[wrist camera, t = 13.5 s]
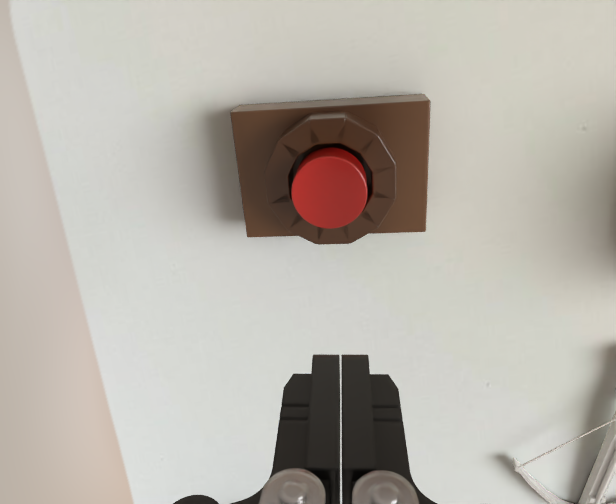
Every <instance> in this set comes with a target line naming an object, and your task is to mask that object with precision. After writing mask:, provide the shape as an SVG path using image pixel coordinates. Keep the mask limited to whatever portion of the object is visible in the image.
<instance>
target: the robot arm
mask: <svg viewBox="0 0 616 504" xmlns="http://www.w3.org/2000/svg"><path fill="white" fill-rule="evenodd" d="M173 504H219V503H218V502H217V501H215V500H214V499H212V498H210V497H208V496H204V495H192V496H187V497H185V498H182V499H180V500H178V501H176V502H175V503H173ZM231 504H340V364H339V355H313V360H312V373H311V374H293V375H292V377H291V378H290V380H289V381H288V383H287V384H286V386H285V387H284V391H283V398H282V407H281V412H280V420H279V427H278V434H277V441H276V448H275V455H274V462H273V469H272V473H271V476H270V478H269V480H268V481H267V482H266V484H265V485H264V487H263V488H262V489H261V490H260V491H259V492H257V493H256V494H254V495H253V496H251V497H249V498H247V499H244V500H242V501H238V502H235V503H231ZM342 504H437V503H435V502H433V501H431V500H430V499H428V498H427V497H426V496H424V495H423V494H422V493H421V492H420V491H419V489H418V488H417V487H416V485H415V484H414V482H413V480H412V477H411V474H410V469H409V462H408V455H407V447H406V440H405V433H404V426H403V422H402V412H401V407H400V398H399V391H398V388H397V386H396V385H395V384H394V382H393V381H392V379H391V378H390V376H389V375H382V374H370V372H369V359H368V355H342Z"/></svg>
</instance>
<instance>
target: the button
mask: <svg viewBox="0 0 616 504" xmlns="http://www.w3.org/2000/svg"><path fill="white" fill-rule="evenodd" d="M367 193H368V191H367V179H366V174H365V171H364V168H363V166H362V164H361V163H360V162H359V160H358V159H357V158H356V157H355V156H353V155H352V154H351V153H349V152H347V151H345V150H343V149H339V148H322V149H319V150H316V151H314V152H312V153H310V154H309V155H308V156H306V157H305V158H304V159H303V161H302V162H301V163H300V165H299V167H298V169H297V171H296V174H295V177H294V180H293V183H292V189H291V195H292V201H293V204H294V206H295V209H296V210H297V212H298V213H299V214H300V216H301V217H302V218H303V219H304V220H306V221H307V222H309V223H310V224H312V225H315V226H317V227H321V228H328V229H332V228H339V227H342V226H345V225H347V224H349V223H351V222H352V221H354V220H355V219H356V218H357V217H358V216H359V215H360V214H361V212H362V211H363V209H364V207H365V204H366V201H367Z"/></svg>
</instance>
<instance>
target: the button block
mask: <svg viewBox="0 0 616 504" xmlns="http://www.w3.org/2000/svg"><path fill="white" fill-rule="evenodd" d="M230 114H231V121H232V128H233V136H234V143H235V151H236V158H237V165H238V173H239V180H240V187H241V195H242V202H243V210H244V217H245V224H246V232H247V237H271V236H300V237H302V238H304V239H306V240H308V241H311V242H313V243H315V244H349V243H352V242H354V241H356V240H358V239H359V238H361V237H363V236H365V235H367V234H368V233H399V232H425V231H426V210H427V183H428V156H429V129H430V100H429V99H428V98H427V97H426V95H425V94H415V95H399V96H382V97H365V98H348V99H332V100H315V101H298V102H282V103H265V104H248V105H239V106H238V107H237V108H235V109H234V110H233V111H232V112H231V113H230ZM322 148H339V149H343V150H345V151H347V152H349V153H351V154H352V155H353V156H355V157H356V158H357V159H358V160H359V162H360V163H361V164H362V166H363V168H364V171H365V174H366V179H367V191H368V193H367V201H366V204H365V207H364V209H363V211H362V212H361V214H360V215H359V216H358V217H357V218H356V219H355V220H354V221H352V222H351V223H349V224H347V225H345V226H342V227H339V228H332V229H328V228H321V227H317V226H315V225H312V224H310V223H309V222H307V221H306V220H304V219H303V218H302V217H301V216H300V214H299V213H298V212H297V210H296V209H295V206H294V204H293V201H292V195H291V189H292V183H293V180H294V177H295V174H296V171H297V169H298V167H299V165H300V163H301V162H302V161H303V159H304V158H305V157H306V156H308V155H309V154H310V153H312V152H314V151H316V150H319V149H322Z"/></svg>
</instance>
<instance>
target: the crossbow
mask: <svg viewBox="0 0 616 504" xmlns="http://www.w3.org/2000/svg"><path fill="white" fill-rule="evenodd" d="M615 392H616V389H615ZM609 423H611V424H610V427H609V429H608V432H607V434H606V436H605V439H604V441H603V444H602V446H601V449H600V451H599V454H598V456H597V458H596V461H595V463H594V466H593V468H592V471H591V473H590V476H589V478H588V481H587V483H586V485H585V488H584V490H583V493H582V495H581V498H580V500H579V503H578V504H601V503H605V502H606V498H605V494H606V492H607V490H608V488H609V485H610V483H611V481H612V479H613V476H614V474H615V472H616V412H615V414H614V417H613V419H612V420H611V421H609V422H607V423H605V424H603V425H601V426H599V427H597V428H595V429H593V430H591V431H589V432H587V433H585V434H583V435H581V436H579V437H577V438H575V439H573V440H571V441H569V442H567V443H565V444H563V445H561V446H559V447H557V448H555V449H553V450H551V451H549V452H547V453H545V454H543V455H541V456H539V457H536V458H534V459H532V460H530V461H528V462H526V463H524V464H522V465H521V464H520V463H519V461H518V460H517V459H515V458H513V460H512V463H513V466H514V469H515V471H516V472H518V473H520V474H521V476H522V477H523V478H524V479H525V480H526V481H527V483H528V484H529V485H530V486H531V487H532V488H533V489H534V490H535V491H536V492H538V493H539V494H540V495H541V496H542V497H543V498H544V499H546V500H547V501H548V502H549V503H551V504H574V503H569V502H567V501H564V500H562V499H560V498H558V497H557V496H556V495H554V494H553V493H551V492H550V491H548V490H547V489H545V488H544V487H543V486H542V485H541V484H540V483H539V482H538V481H536V480H535V479H534V478H533V477H532V476H531V475H530V474H529V473H528V472H527V471H526V470H525V468H524V467H523V466H524V465H526V464H528V463H530V462H532V461H534V460H536V459H538V458H540V457H542V456H544V455H546V454H548V453H550V452H552V451H555V450H557V449H559V448H561V447H563V446H565V445H567V444H569V443H571V442H573V441H575V440H577V439H579V438H581V437H583V436H585V435H587V434H589V433H591V432H593V431H595V430H597V429H599V428H601V427H603V426H605V425H607V424H609ZM607 504H616V501H615V502H612V503H607Z"/></svg>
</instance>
